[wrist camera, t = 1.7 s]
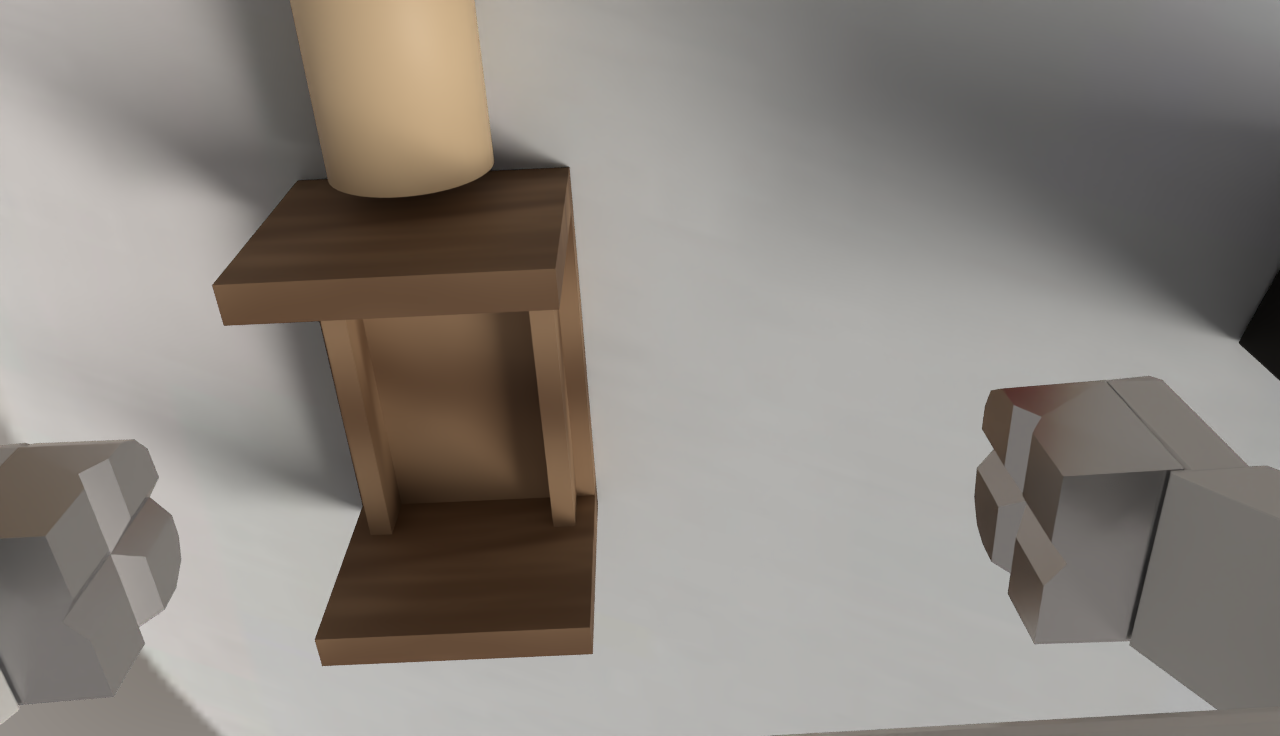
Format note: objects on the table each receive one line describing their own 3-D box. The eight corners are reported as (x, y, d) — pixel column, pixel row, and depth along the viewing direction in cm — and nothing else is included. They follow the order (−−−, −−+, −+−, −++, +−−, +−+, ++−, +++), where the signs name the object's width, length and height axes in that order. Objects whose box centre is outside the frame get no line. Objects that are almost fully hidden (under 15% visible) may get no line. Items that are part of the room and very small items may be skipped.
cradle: (297, 180, 33) (212, 285, 26) (569, 166, 33) (555, 268, 26) (373, 514, 40) (322, 666, 33) (597, 503, 40) (592, 654, 33)
